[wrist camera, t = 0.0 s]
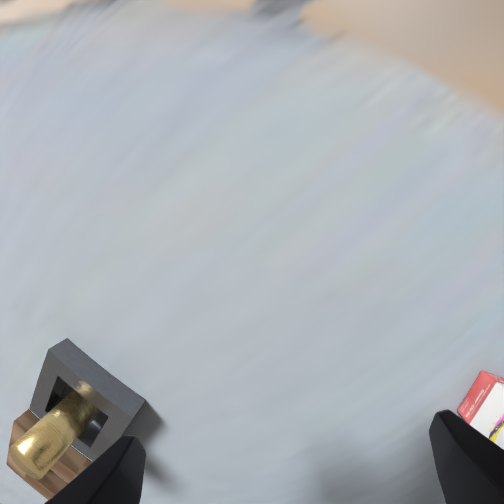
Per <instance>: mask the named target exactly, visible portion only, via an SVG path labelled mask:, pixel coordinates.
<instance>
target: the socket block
mask: <svg viewBox="0 0 504 504" xmlns="http://www.w3.org/2000/svg"><path fill="white" fill-rule="evenodd" d="M66 383H67V384H68V385H69V386H71V387H72V388H73V389H74V390H75V391H76V392H78V393H79V394H80V395H81V396H83V397H84V398H85V399H86V400H87V401H89V402H90V403H91V404H93V405H94V406H95V407H96V408H98V409H99V410H100V411H102V412H103V413H104V414H106V415H107V416H108V419H107V421H106V422H105V424H104V426H103V428H102V429H101V430H100V429H99V428H98V427H96V426H95V425H94V424H92V423H90V424H89V425H88V426H87V427H86V429H85V430H84V431H83V432H82V433H81V434H80V435H79V437H78V438H77V439H76V440H75V441H74V442H73V443H72V444H71V445H72V446H73V447H75V448H76V449H77V450H79V451H80V452H81V453H83V454H84V455H85V456H87V457H88V458H89V459H91V460H92V461H95V460H96V459H97V458H98V457H99V456H100V455H101V454H102V453H104V452H105V451H106V450H107V449H108V448H109V447H110V446H111V445H112V444H113V443H115V442H116V441H117V440H118V439H119V438H120V437H121V436H122V434H123V433H124V431H125V430H126V428H127V427H128V425H129V424H130V422H131V421H132V419H133V418H134V416H135V415H136V413H137V412H138V410H139V409H140V407H141V406H142V405H143V403H144V402H145V399H144V398H142V397H141V396H139V395H138V394H136V393H135V392H134V391H132V390H131V389H129V388H128V387H127V386H125V385H124V384H123V383H121V382H120V381H119V380H117V379H116V378H115V377H113V376H112V375H111V374H110V373H108V372H107V371H106V370H104V369H103V368H102V367H101V366H99V365H98V364H97V363H96V362H94V361H93V360H92V359H91V358H90V357H88V356H87V355H86V354H85V353H84V352H82V351H81V350H80V349H79V348H78V347H77V346H75V345H74V344H73V343H72V342H71V341H70V340H69V339H68V338H66V339H65V340H63V341H61V342H60V343H58V344H57V345H55V346H53V347H52V348H50V349H48V352H47V355H46V358H45V361H44V363H43V366H42V369H41V372H40V375H39V378H38V381H37V385H36V388H35V391H34V394H33V398H32V401H31V405H30V408H29V409H30V410H31V411H32V412H33V413H35V414H36V415H37V416H38V417H39V418H40V419H42V418H43V417H44V416H45V415H46V414H47V413H49V412H50V411H51V410H52V409H53V408H54V407H55V406H56V405H58V404H59V403H60V402H61V401H62V400H63V399H62V398H60V397H61V394H62V392H63V390H64V387H65V385H66Z"/></svg>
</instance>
